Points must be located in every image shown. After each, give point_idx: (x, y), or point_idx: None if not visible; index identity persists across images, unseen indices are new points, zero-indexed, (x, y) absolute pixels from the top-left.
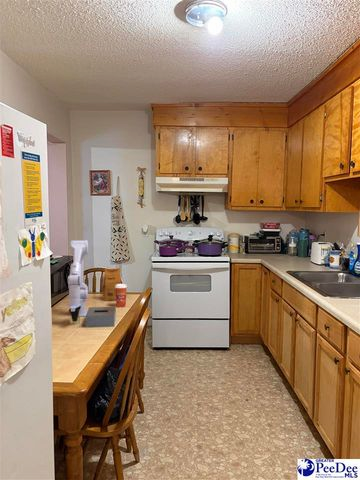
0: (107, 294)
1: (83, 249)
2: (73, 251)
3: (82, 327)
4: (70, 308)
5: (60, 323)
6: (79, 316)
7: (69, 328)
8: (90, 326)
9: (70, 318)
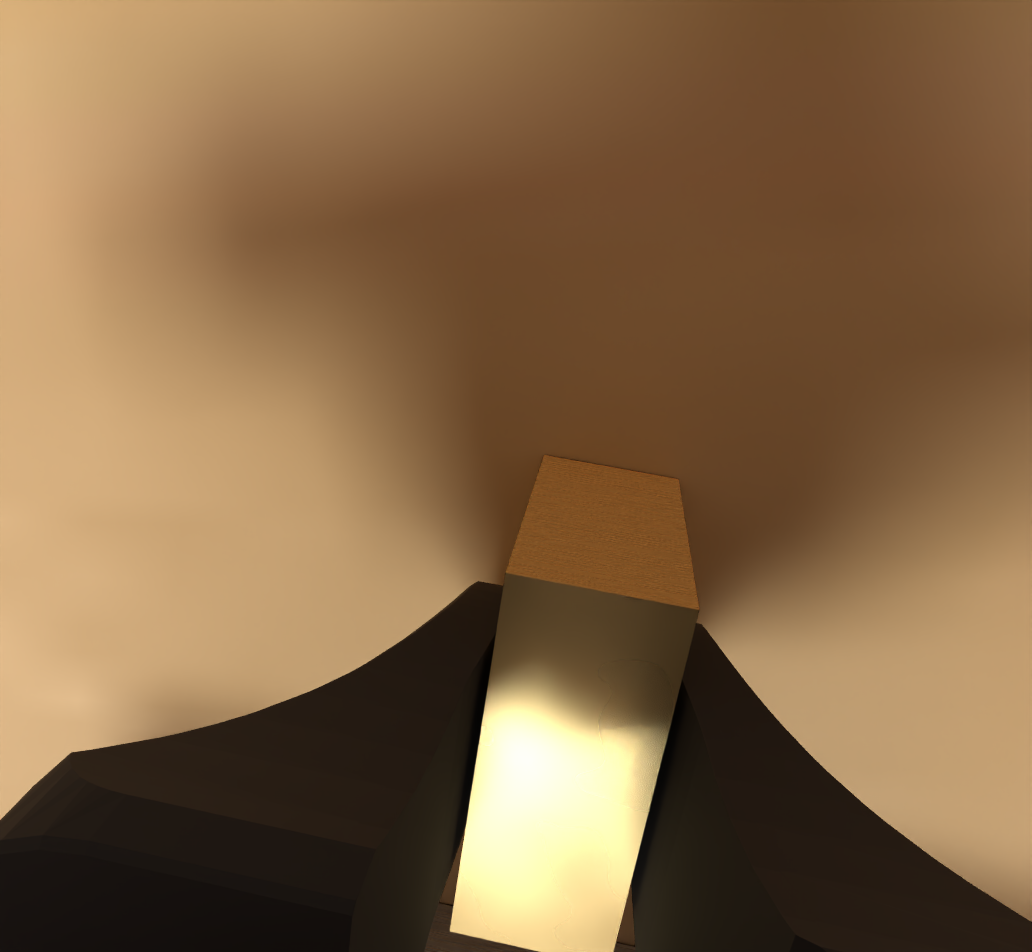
0: None
1: None
2: None
3: None
4: (777, 950)
5: (718, 73)
6: (454, 931)
7: (79, 426)
8: None
9: (516, 553)
